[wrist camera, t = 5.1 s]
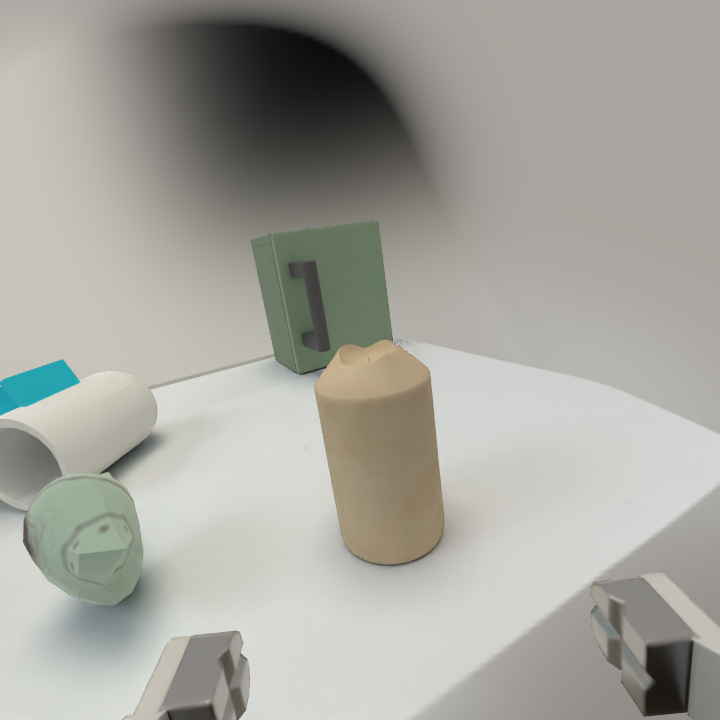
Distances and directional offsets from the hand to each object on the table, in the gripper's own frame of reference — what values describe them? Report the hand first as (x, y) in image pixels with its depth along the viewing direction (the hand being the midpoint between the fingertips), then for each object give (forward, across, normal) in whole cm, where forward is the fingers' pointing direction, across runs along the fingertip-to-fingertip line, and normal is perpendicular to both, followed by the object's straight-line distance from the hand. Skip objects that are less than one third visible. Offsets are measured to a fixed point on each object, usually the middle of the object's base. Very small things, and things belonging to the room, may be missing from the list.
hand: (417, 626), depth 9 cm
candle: (+11, 0, +6) cm, 13 cm away
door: (+42, +1, +4) cm, 42 cm away
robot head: (+9, +14, +6) cm, 18 cm away
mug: (+24, +25, +6) cm, 35 cm away
